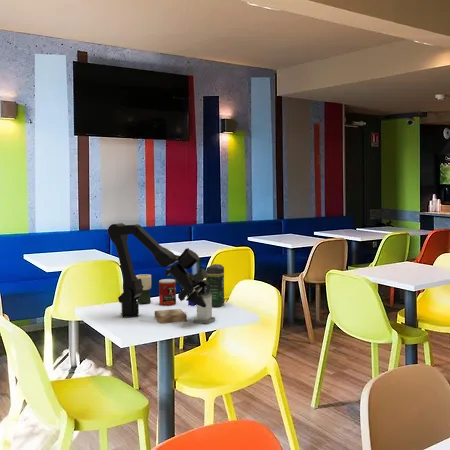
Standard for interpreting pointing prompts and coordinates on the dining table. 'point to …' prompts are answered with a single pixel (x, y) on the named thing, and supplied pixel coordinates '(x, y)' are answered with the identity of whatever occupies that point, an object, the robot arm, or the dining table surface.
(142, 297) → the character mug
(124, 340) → the dining table surface
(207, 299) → the steel housing
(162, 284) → the canned food
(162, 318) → the light tan tray
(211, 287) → the coffee jar
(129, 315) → the robot arm
